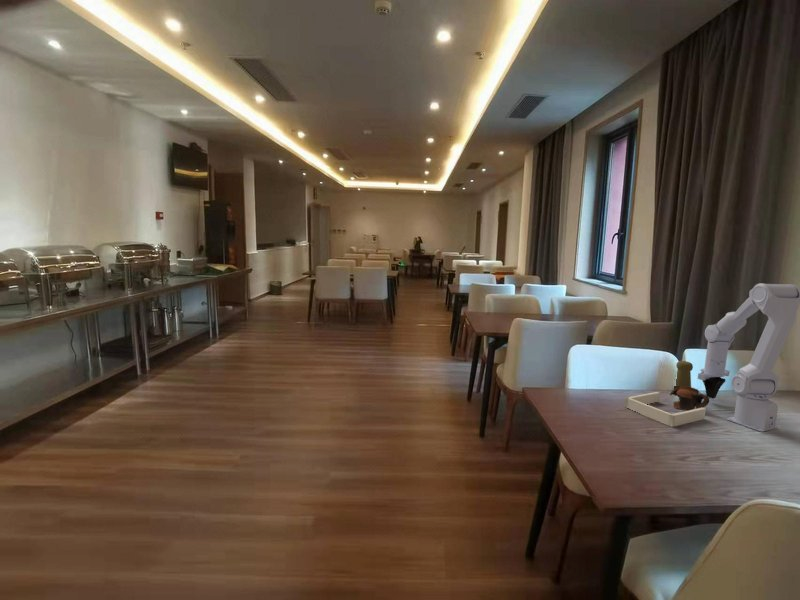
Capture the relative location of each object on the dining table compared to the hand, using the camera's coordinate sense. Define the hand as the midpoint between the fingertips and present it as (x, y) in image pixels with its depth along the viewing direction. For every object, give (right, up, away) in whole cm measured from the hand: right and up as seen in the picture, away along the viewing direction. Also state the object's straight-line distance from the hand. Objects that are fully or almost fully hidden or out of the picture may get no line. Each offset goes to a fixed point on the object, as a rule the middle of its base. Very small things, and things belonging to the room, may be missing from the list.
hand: (710, 397), depth 146 cm
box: (-23, -3, -10) cm, 25 cm away
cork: (-1, 0, +14) cm, 14 cm away
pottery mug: (-11, -3, -4) cm, 12 cm away
